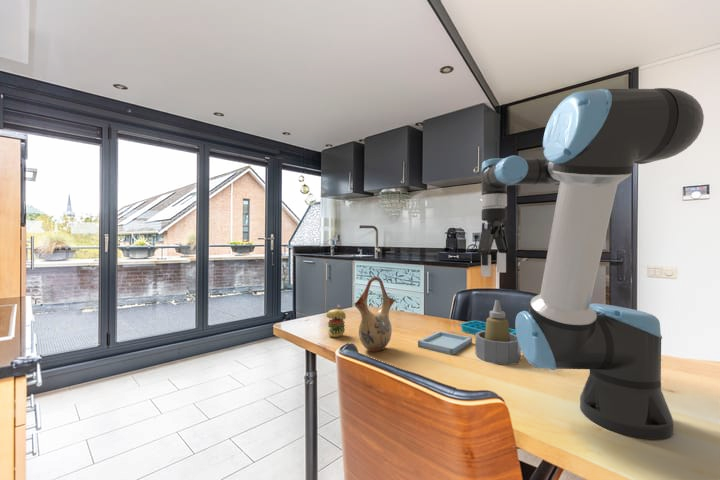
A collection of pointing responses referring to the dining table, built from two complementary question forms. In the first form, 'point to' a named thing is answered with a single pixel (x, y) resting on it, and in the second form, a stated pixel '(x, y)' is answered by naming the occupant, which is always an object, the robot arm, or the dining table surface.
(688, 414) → the dining table surface
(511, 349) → the grey faceted ring
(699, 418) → the dining table surface
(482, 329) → the ice cube tray
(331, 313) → the hamburger
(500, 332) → the squeeze bottle
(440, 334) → the tray
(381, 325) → the ceramic vessel
